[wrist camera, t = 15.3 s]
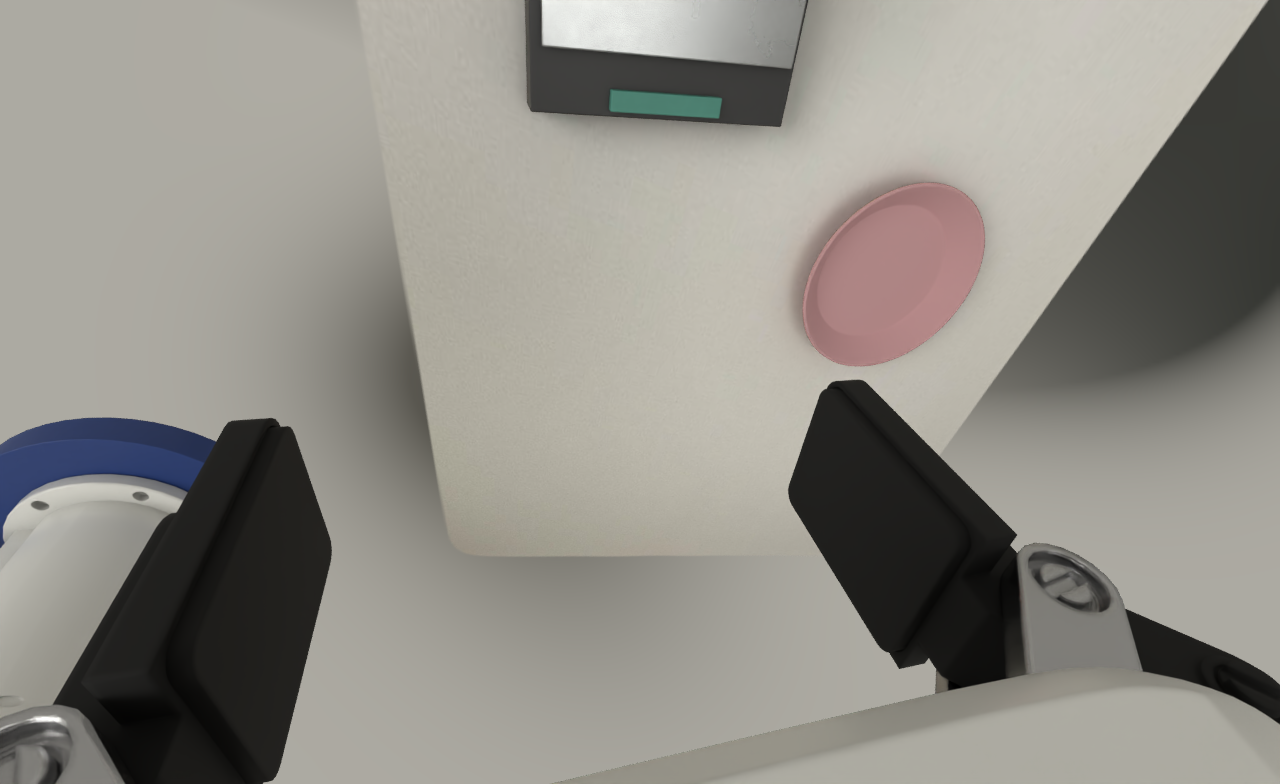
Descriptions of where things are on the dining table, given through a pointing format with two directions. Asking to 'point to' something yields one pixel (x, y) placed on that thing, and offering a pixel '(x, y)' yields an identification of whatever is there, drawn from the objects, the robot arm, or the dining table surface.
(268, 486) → the robot arm
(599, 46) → the scale
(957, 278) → the plate
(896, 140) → the dining table surface
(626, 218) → the dining table surface
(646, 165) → the dining table surface
